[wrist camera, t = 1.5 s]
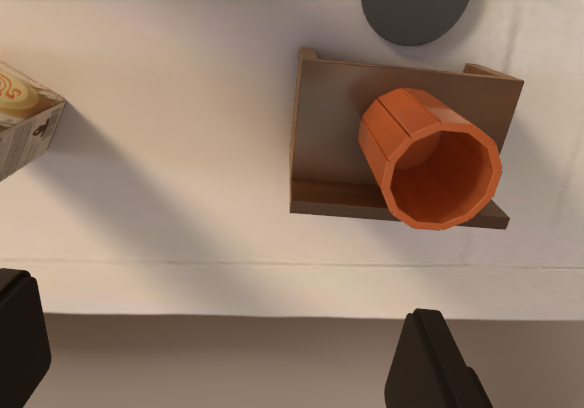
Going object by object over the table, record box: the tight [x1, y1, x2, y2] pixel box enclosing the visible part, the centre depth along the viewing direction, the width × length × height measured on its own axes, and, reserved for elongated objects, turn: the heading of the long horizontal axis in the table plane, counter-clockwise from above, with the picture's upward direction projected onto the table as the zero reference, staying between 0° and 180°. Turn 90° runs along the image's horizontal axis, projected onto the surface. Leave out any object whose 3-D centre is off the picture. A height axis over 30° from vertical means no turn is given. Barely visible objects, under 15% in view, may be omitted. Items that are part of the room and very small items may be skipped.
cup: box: [358, 88, 502, 231], centre depth 27 cm, size 6×6×9 cm
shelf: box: [290, 47, 524, 229], centre depth 33 cm, size 10×16×12 cm, turn 85°
